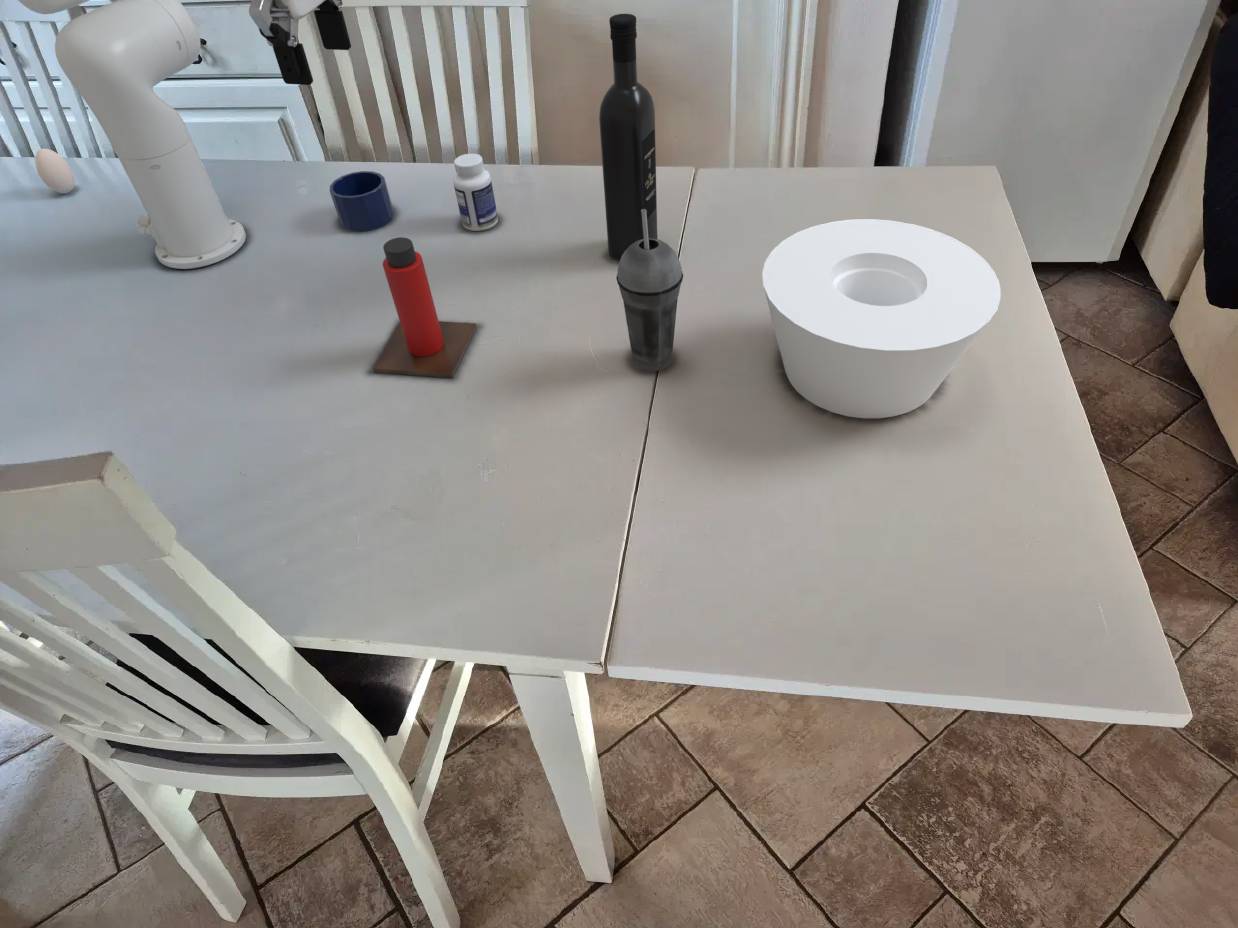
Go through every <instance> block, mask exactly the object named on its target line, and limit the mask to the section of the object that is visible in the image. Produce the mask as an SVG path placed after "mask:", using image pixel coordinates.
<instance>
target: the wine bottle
mask: <svg viewBox="0 0 1238 928" xmlns="http://www.w3.org/2000/svg"><path fill="white" fill-rule="evenodd" d="M608 23H609V29H610V31H609V32H610V34H609V37H610V40H611V48H612V49H611V50H612V69H613V70H612V71H613V84H612V85H610V87H609V88H608V89H607V91H606V92H605V94H604V95H603V98H602V100H601V103H600V107H599V108H600V109H599V114H598V115H599V116H598V121H599V123H598V124H599V132H600V133H599V137H600V149H601V151H600V152H601V161H602V162H601V164H602V178H603V180H602V181H603V192H604V193H603V194H604V206H605V221H606V222H605V223H606V237H607V250H608V251H607V252H608V256H609V257H610V258H611V259H614V260H618V261H620V260H621V257H622V255H623V253H624V252H625V251H626V250H627V248H628V247H629V246H630V245H632V244H633V243H635V242H637V241H639V240H642V239H644V235H643V223H642V211H641V210H642V209H646V214H647V226H648V238H653V239H658V207H657V206H658V205H657V161H656V160H657V155H656V153H657V152H656V150H657V149H656V109H655V102H654V99H653V96H652V95H651V92H649V90H648V88H646V87H645V86H644V85H643V84H642V83H640V82H639V81H638V67H637V65H638V64H637V63H638V62H637V41H636V39H637V37H638V33H637V17H636V15H634V14H632V13H618V14H614V15H612V16H610V18H609V22H608Z"/></svg>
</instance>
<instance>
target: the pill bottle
mask: <svg viewBox="0 0 1238 928" xmlns="http://www.w3.org/2000/svg"><path fill="white" fill-rule="evenodd" d="M453 164H454V169H455V172H456V173H455V175H454V176H453V178H452V183H453V188H454V192H455V197H456V201H457V207H458V211H459V214H460V215H459V217H460V220H461V224H462V226H463V227H464V228H465V229H467V230H468V231H472V232H482V231H487V230H489V229H492V228H494V227H495V226H496V225H497V223H498V221H499V215H498V208H497V206H496V199H495V194H494V187H493V181H492V178H491V174H490V172H489V171H488V170H486V169H485V166H484V165H485V164H484V161H483V157H482V156H481V154H478V153H465V154H462V155H459V156H457V157H456V158H455V159H454V160H453Z"/></svg>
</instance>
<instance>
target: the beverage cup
mask: <svg viewBox="0 0 1238 928" xmlns="http://www.w3.org/2000/svg"><path fill="white" fill-rule="evenodd" d="M641 211H642V223H643V235H644V239H642V240H639V241H637V242H635V243H633V244H632V245H630V246H629V247H628V248H627V250H626V251H625V252H624V253H623V255H622V257H621V260H619V262H618V266H617V274H616V278H615V279H616V283H617V285H618V288H619V292H620V296H621V298H622V301H623V302H622V303H623V307H624V308H623V309H624V314H625V320H626V327H627V332H628V339H629V344H630V351H631V354H632V359H633V364H634V366H635V367H636V368H638V369H639V370H642V371H645V372H659V371H661V370H664V369H666V368H668V367H669V365H670V364H671V361H672V354H673V350H674V341H675V340H674V339H675V330H676V322H677V321H676V320H677V311H678V310H677V308H678V300H679V299H678V298H679V295H680V290H681V286H682V283H683V280H684V272H683V269H682V265H681V261H680V258H679V256H678V253H676V250H675V249H673V247H671V246H670V245H669V244H668V243H667V242H665V241H663V240H661V239H658V238H657V239H653V238H648V226H647V214H646V209H642V210H641Z"/></svg>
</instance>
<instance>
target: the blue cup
mask: <svg viewBox="0 0 1238 928" xmlns="http://www.w3.org/2000/svg"><path fill="white" fill-rule="evenodd" d="M329 194H330V197H331V199H332V202H333V206H334V209H335V212H336V215H337V218H338V220H339V223H340V225H341V226H342V228H344V229H345V230H347V231H351V232H369V231H374V230H377V229H379V228H382V227H384V226H385V225H387V224H388V223H390V222H391V221H392V220H393V219H394V215H395V213H394V208H393V207H394V206H393V204H392V199H391V196H390V192H389V189H388V185H387V182H386V178H385V177H384V176H383V174H381V173H379V172H376V171H371V170H361V171H354V172H350V173H347V174H344V175H341V176H340V177H338V178H336V179H335V180H333V181H332V183H331V184H329Z"/></svg>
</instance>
